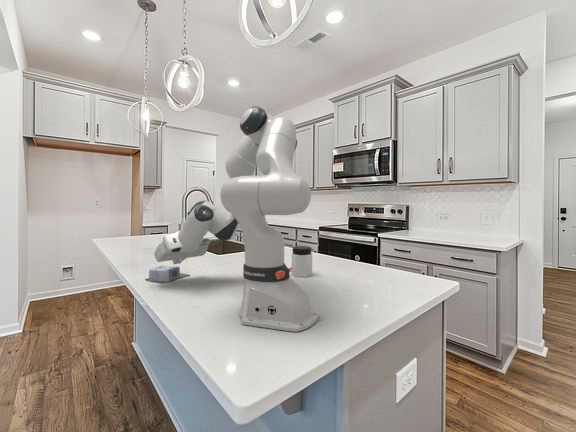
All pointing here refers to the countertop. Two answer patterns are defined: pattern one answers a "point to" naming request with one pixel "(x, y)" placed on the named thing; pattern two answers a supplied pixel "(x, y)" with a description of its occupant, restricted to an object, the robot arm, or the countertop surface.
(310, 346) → the countertop surface
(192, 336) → the countertop surface
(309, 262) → the jar
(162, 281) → the mat
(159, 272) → the medicine box
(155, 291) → the countertop surface
